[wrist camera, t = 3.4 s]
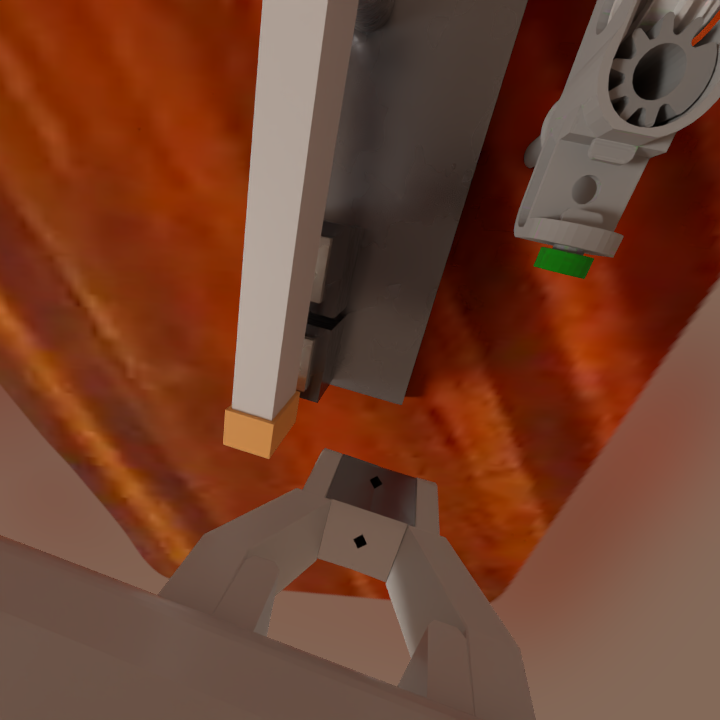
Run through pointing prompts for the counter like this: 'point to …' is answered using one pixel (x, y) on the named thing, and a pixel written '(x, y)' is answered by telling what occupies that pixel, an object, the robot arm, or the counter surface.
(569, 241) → the mechanical component
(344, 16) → the lever
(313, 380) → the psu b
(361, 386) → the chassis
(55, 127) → the counter surface
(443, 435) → the counter surface
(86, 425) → the counter surface
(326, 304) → the block
